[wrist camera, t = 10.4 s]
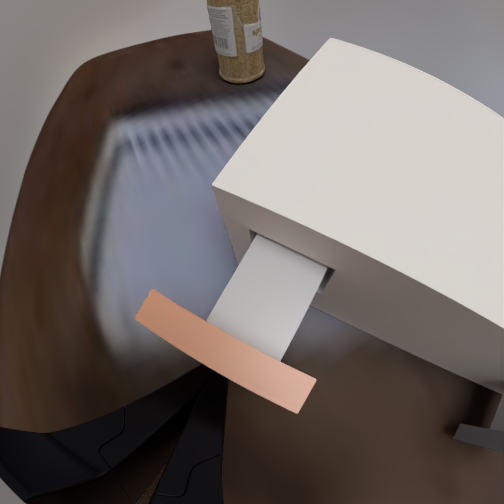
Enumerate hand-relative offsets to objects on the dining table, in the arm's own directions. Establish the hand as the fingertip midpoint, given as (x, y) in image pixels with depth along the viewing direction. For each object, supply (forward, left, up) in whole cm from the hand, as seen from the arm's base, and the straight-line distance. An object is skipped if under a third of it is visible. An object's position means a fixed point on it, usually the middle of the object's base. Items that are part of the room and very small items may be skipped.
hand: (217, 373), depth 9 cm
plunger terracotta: (+6, +3, -6) cm, 9 cm away
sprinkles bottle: (+14, +22, -7) cm, 27 cm away
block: (+14, -2, -7) cm, 15 cm away
